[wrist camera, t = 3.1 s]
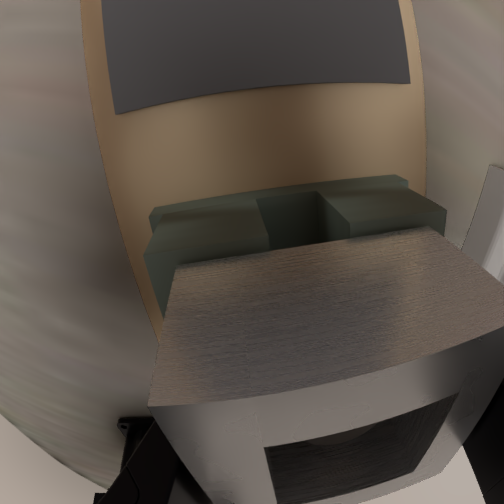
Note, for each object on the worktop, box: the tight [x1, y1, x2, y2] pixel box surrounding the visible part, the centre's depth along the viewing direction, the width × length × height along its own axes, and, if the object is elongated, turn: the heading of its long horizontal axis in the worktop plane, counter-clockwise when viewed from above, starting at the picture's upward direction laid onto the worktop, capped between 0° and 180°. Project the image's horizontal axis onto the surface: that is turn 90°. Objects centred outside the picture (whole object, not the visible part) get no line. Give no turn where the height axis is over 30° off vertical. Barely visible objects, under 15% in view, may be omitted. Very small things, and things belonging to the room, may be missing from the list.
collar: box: [147, 226, 504, 504], centre depth 7 cm, size 6×6×4 cm
